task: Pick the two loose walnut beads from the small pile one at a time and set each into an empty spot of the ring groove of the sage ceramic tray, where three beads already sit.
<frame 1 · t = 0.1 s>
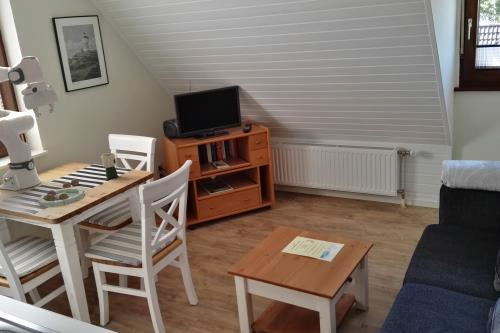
hand: (45, 114, 267), 39 cm above the table, tool pointing down, fingers open, 8 cm apart
bead seated 2: (51, 202, 249), point 1 cm above the table, touching groove tray
bead seated 3: (64, 201, 249), point 1 cm above the table, touching groove tray
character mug: (112, 177, 282), on the table
bead A: (67, 189, 269), on the table
bead seated 1: (52, 197, 256), point 1 cm above the table, touching groove tray
groove tray: (62, 199, 254), on the table
bead B: (75, 186, 274), on the table
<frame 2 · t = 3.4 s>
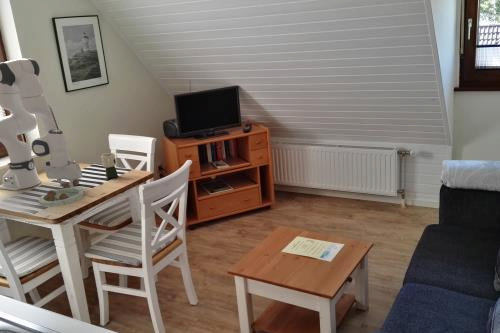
hand: (66, 186, 269), 2 cm above the table, tool pointing down, fingers closed on bead A, 4 cm apart
bead A: (67, 189, 269), on the table, touching gripper
everything else where it was.
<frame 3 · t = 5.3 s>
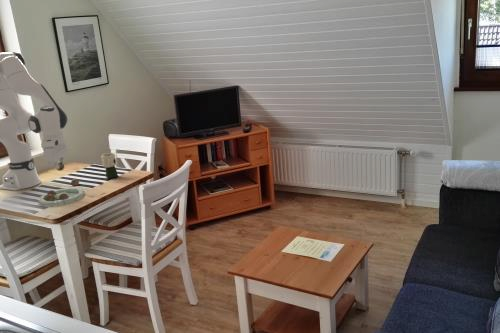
hand: (59, 167, 255), 15 cm above the table, tool pointing down, fingers closed on bead A, 4 cm apart
bead A: (60, 170, 256), point 13 cm above the table, touching gripper
everything else where it was.
when the fingers open (4 cm above the table, at t = 7.6 s): bead A drops 2 cm, resting on groove tray.
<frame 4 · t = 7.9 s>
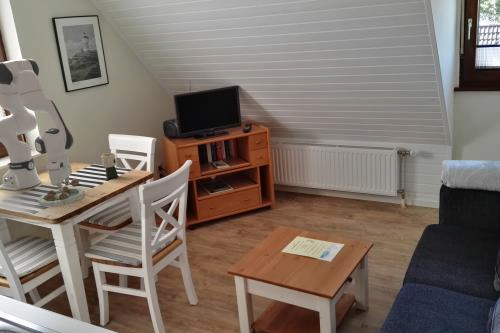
hand: (64, 188, 258), 4 cm above the table, tool pointing down, fingers open, 7 cm apart
bead A: (65, 194, 259), point 1 cm above the table, touching groove tray
everything else where it was.
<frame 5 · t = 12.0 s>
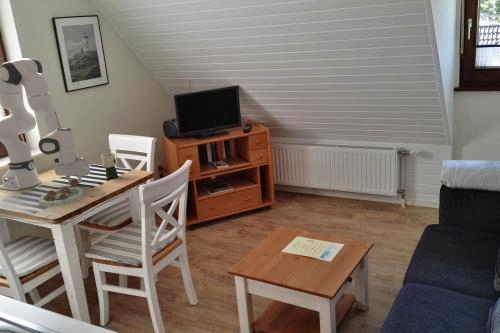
hand: (75, 183, 273), 2 cm above the table, tool pointing down, fingers closed on bead B, 4 cm apart
bead B: (75, 186, 274), on the table, touching gripper
everything else where it was.
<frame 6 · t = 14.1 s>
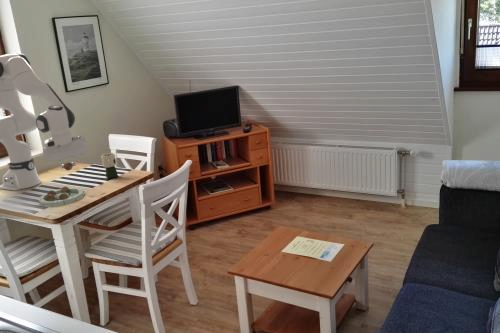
hand: (68, 166, 252), 15 cm above the table, tool pointing down, fingers closed on bead B, 4 cm apart
bead A: (65, 194, 259), point 1 cm above the table, touching groove tray
bead B: (69, 170, 253), point 14 cm above the table, touching gripper
everything else where it was.
when the fingers open (4 cm above the table, at t = 16.5 s): bead B drops 2 cm, resting on groove tray.
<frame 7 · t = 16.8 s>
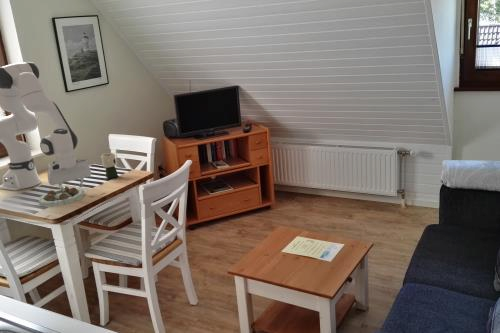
hand: (72, 188, 255), 4 cm above the table, tool pointing down, fingers open, 7 cm apart
bead A: (65, 194, 259), point 1 cm above the table, tilted 11°, touching groove tray
bead B: (74, 195, 256), point 1 cm above the table, touching groove tray
everything else where it was.
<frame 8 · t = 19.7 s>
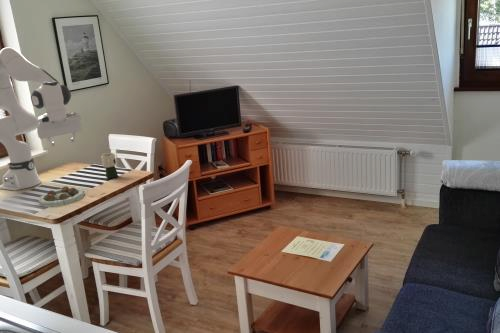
hand: (63, 143, 249), 27 cm above the table, tool pointing down, fingers open, 8 cm apart
bead B: (74, 195, 256), point 1 cm above the table, tilted 9°, touching groove tray
everything else where it was.
at the end: bead A inside the target area on the groove tray (0.0 cm from its centre), point 0.9 cm above the groove tray's base; bead B inside the target area on the groove tray (0.1 cm from its centre), point 0.8 cm above the groove tray's base; the gripper is holding nothing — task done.
